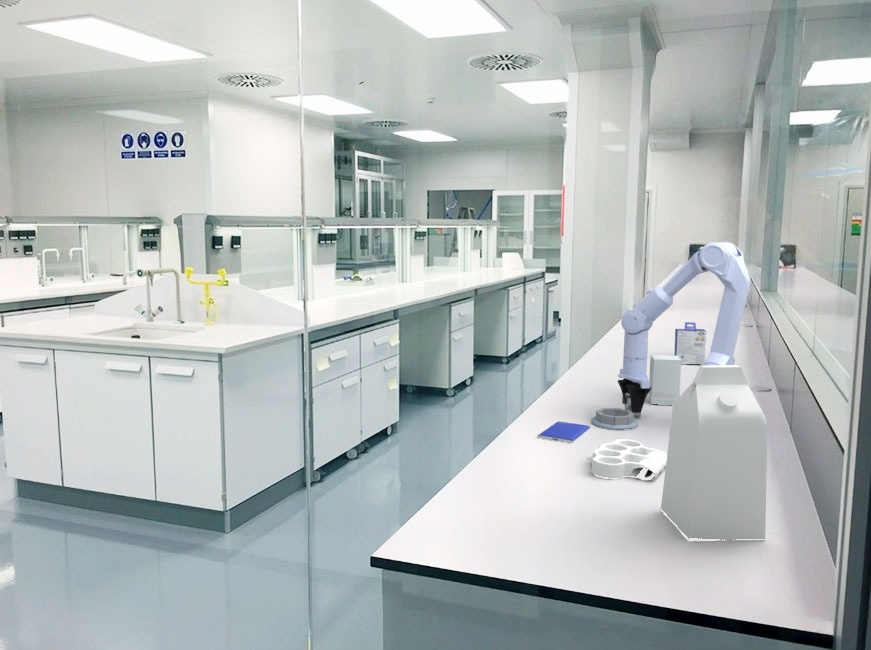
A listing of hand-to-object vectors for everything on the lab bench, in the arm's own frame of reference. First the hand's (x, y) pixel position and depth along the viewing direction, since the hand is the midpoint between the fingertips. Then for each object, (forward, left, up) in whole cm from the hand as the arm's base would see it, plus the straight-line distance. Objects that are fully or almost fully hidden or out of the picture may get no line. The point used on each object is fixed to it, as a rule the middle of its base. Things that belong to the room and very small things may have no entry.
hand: (632, 410), depth 176 cm
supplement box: (+13, -14, -2) cm, 19 cm away
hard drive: (-13, +22, -2) cm, 25 cm away
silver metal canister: (0, 0, -2) cm, 2 cm away
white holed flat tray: (-36, +16, -2) cm, 39 cm away
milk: (-64, +13, -2) cm, 65 cm away
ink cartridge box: (+65, -47, -2) cm, 80 cm away
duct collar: (-6, +7, -2) cm, 9 cm away
